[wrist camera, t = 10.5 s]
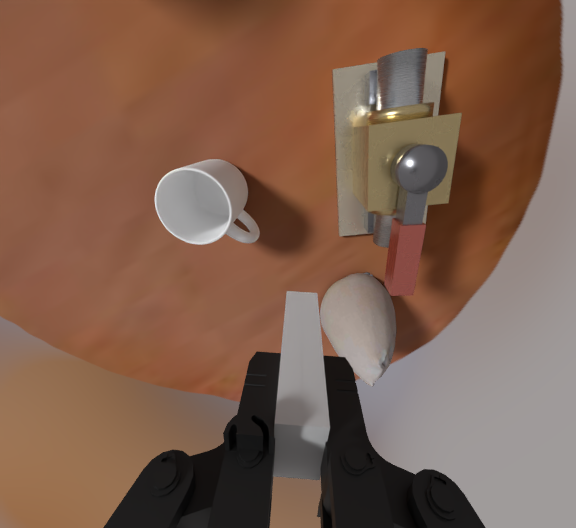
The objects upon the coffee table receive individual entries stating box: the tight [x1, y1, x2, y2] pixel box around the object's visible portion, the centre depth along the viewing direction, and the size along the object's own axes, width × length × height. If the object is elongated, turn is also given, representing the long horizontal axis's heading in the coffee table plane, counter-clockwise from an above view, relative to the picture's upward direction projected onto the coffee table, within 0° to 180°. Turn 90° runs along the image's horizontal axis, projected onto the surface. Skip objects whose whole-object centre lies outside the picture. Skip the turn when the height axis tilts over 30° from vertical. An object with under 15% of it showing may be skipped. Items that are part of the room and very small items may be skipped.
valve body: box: [332, 48, 462, 248], centre depth 30 cm, size 20×12×10 cm, turn 7°
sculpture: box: [320, 273, 396, 387], centre depth 38 cm, size 13×12×15 cm
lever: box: [384, 144, 448, 296], centre depth 26 cm, size 15×4×3 cm, turn 3°
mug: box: [155, 159, 260, 244], centre depth 33 cm, size 12×8×10 cm
